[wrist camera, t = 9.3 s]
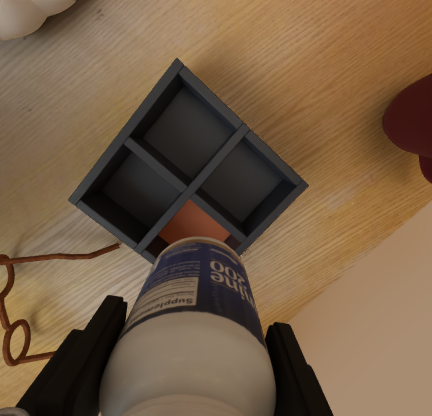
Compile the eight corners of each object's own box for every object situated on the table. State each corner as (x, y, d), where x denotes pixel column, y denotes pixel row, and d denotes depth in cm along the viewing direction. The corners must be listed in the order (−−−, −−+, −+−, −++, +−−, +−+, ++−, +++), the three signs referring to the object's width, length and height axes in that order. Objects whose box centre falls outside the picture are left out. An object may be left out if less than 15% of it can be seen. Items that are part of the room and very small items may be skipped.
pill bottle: (261, 295, 15) (351, 572, 5) (180, 330, 15) (131, 640, 6) (220, 216, 13) (243, 395, 4) (134, 258, 14) (-29, 506, 4)
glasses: (7, 246, 29) (-34, 267, 24) (120, 242, 29) (102, 262, 24) (32, 341, 32) (0, 376, 27) (134, 337, 32) (120, 371, 27)
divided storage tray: (93, 189, 27) (67, 200, 22) (183, 74, 24) (176, 57, 20) (200, 273, 30) (197, 298, 25) (291, 177, 27) (309, 185, 22)
